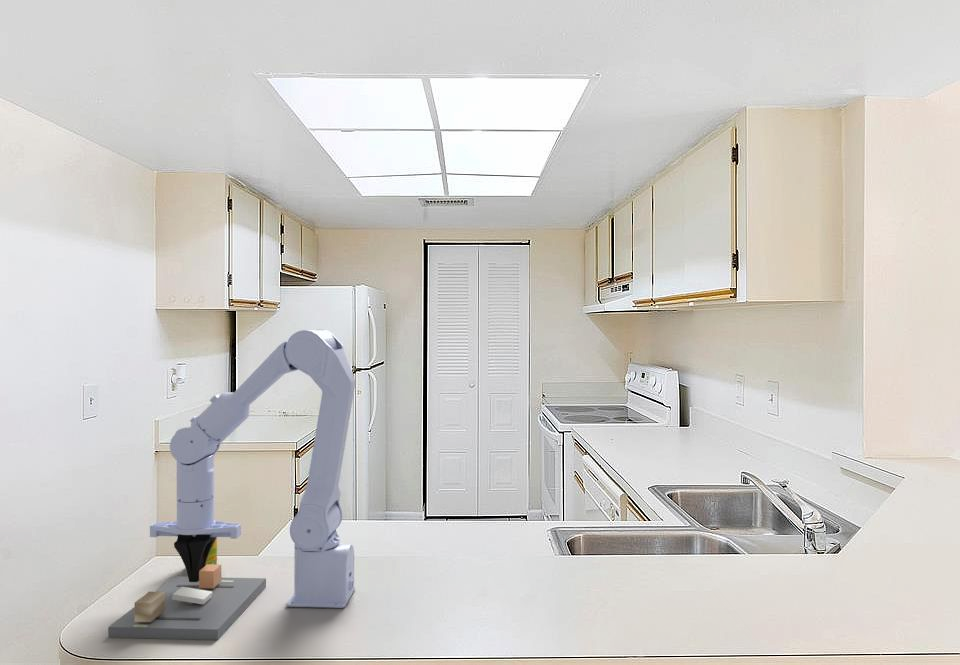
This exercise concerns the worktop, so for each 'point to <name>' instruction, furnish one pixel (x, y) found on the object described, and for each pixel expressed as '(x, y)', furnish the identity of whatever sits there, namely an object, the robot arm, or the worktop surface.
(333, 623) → the worktop surface
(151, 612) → the tan cardboard carton
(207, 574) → the peach slider
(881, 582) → the worktop surface
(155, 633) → the switch panel
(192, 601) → the off-white rocker
